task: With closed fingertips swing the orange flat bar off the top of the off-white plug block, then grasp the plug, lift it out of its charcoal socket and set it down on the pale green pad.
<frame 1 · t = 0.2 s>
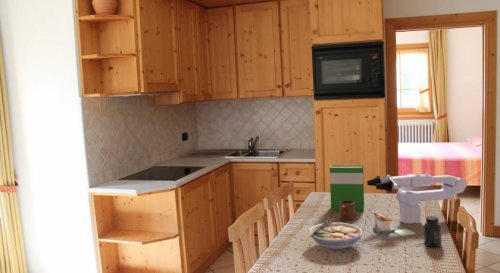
hand: (371, 184, 214), 21 cm above the table, tool horizontal, fingers open, 7 cm apart
socket board: (388, 232, 209), on the table
plug: (383, 230, 209), point 1 cm above the table, touching socket board
mug: (346, 221, 229), on the table
supplement bottle: (432, 245, 191), on the table
ramen bowl: (336, 247, 195), on the table
orange flat bar: (382, 216, 209), point 7 cm above the table, hinge at 0.0°
green cereal box: (347, 209, 251), on the table
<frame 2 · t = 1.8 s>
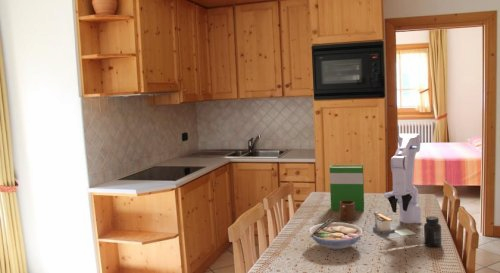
hand: (399, 211, 206), 10 cm above the table, tool pointing down, fingers open, 5 cm apart
nothing on the table moved.
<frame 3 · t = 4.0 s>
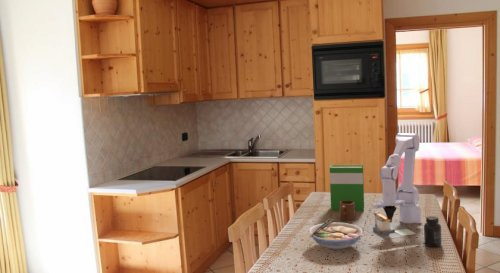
hand: (389, 221, 205), 6 cm above the table, tool pointing down, fingers closed, pressing on orange flat bar
orange flat bar: (382, 216, 209), point 7 cm above the table, hinge at -3.4°, touching gripper
everything else where it was.
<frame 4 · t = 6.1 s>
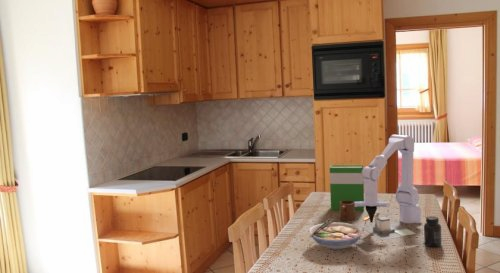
hand: (371, 221, 206), 6 cm above the table, tool pointing down, fingers closed
orange flat bar: (371, 216, 211), point 7 cm above the table, hinge at -57.1°, touching gripper
everything else where it was.
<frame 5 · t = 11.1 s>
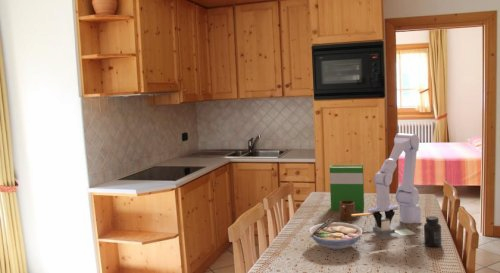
hand: (383, 226, 209), 3 cm above the table, tool pointing down, fingers closed on plug, 4 cm apart
plug: (383, 230, 209), point 1 cm above the table, touching gripper, socket board
orange flat bar: (365, 214, 214), point 7 cm above the table, hinge at -101.4°
everything else where it was.
when the fingers open (4 cm above the table, at t = 14.1 s): plug stays where it is, resting on socket board.
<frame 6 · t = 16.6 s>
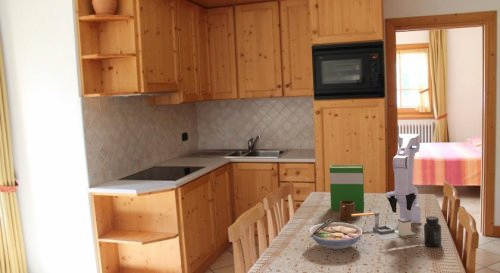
hand: (401, 211, 206), 10 cm above the table, tool pointing down, fingers open, 7 cm apart
plug: (404, 232, 205), point 1 cm above the table, touching socket board
everything else where it was.
at the end: plug inside the target area (0.1 cm from its centre), point 1.0 cm above the table; plug tilted 0°; the gripper is holding nothing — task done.
